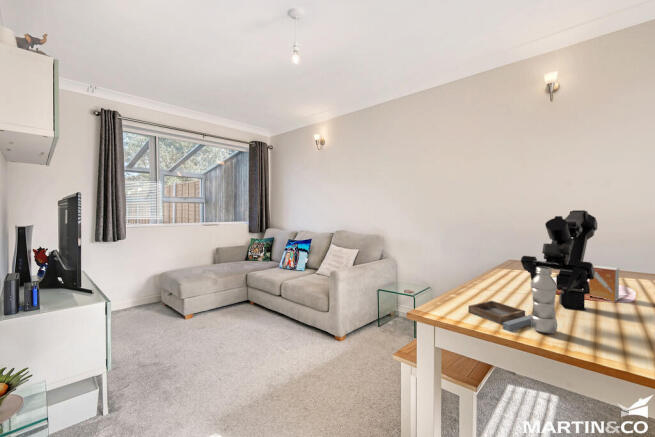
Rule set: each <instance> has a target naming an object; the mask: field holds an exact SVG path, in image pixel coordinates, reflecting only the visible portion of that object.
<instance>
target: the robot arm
mask: <svg viewBox="0 0 655 437" xmlns="http://www.w3.org/2000/svg"><path fill="white" fill-rule="evenodd" d="M544 225H545V229H546V230H547V231H546V232H547V235H548V237H549V240H551V243H543V246H542V250H541V253H542V254H543V260H545V261H543V260H538V258H537V257H536V256H535V255H534V256H533V255H532V256H531V255H522V257H521V258H520V263H521V265H522V268H523V270H525V271H526V272H527V273H529V275H530V282H531V281H532V279H533V278H534V277H535V276H536V275H537V273H536V268H537V267H549V268H551V270H556V271H559V272H558V274H556V277H555V278H556V279H555V282H556V285H557V289H556V290H558V291H560V292H559V294H558V295H559V300H558V301H559V303H558V304H559V305H561V306H562V307H563V308H564V309H568V310H577V311H587V308H586V307H585V297H586V296H585V295H589V294H590V287H589V281H588V280H589V279H591V280H592V279H594V275H595V271H594V267H593V265H594V264H593V263H592V262H590V261H584V259H585V254H586V250H587V244H588V240H590V239H591V238H592V237H594V236H595V232H596V231H597V230H598V222H597V218H596V217H595V216H593V215H592V214H589V212H588V210H583V209H582V210H581V209H580V210H576V209H575V210H570V211H569V214H568V215H567V216H566V217H565V218H563V216H562V215H559V216H558V215H555V216H554V217H553V218H551V219H549V220H547V221H546V222H545V224H544Z"/></svg>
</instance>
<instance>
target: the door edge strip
mask: <svg viewBox="0 0 655 437" xmlns="http://www.w3.org/2000/svg"><path fill="white" fill-rule="evenodd" d="M531 316H532V314H528V315H525V317H521V318H518V319H514V320H510V321H507V322H503V324H502V330H505V331H508V332H511V331H513V330H517V329H521V328H524V327H527V326H531Z"/></svg>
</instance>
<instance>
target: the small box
mask: <svg viewBox="0 0 655 437" xmlns="http://www.w3.org/2000/svg"><path fill="white" fill-rule="evenodd" d="M593 267H594V271H595V275H594V279H592V280H591V279H588V280H589V281H588V282H589V287H590V294H591V295H595V296H599V297H603V298H606V299H610V300H609V302H614V303H616V302H617V300H616V299H617V298H618V297H619V295H620V288H619V287H620V268H619V267H614V266H612V267H611V266H606V265H605V266H604V265H596V264H593ZM619 298H620V297H619ZM619 298H618V299H619Z"/></svg>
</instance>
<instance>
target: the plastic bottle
mask: <svg viewBox="0 0 655 437" xmlns="http://www.w3.org/2000/svg"><path fill="white" fill-rule="evenodd" d="M536 273H537V275H536V276H535V277H534V278H533V279H532V281H531V280H530V289H531V290H530V291H531V295H532V310H531V311H532V312H531V313H532V314H531V315H532V316H531V325H530V326H531V327H532V329H533V330H535V331H536V332H540V333H543V334H554V333H556V331H557V330H558V320H557V318H556V317H557V316H556V309H555V306H556V304H555V303H556V295H557V282H556V280H555V279H554V278H553V277H552V275H553V274H552V273H553V272H552V268H549V267H537V268H536Z"/></svg>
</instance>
